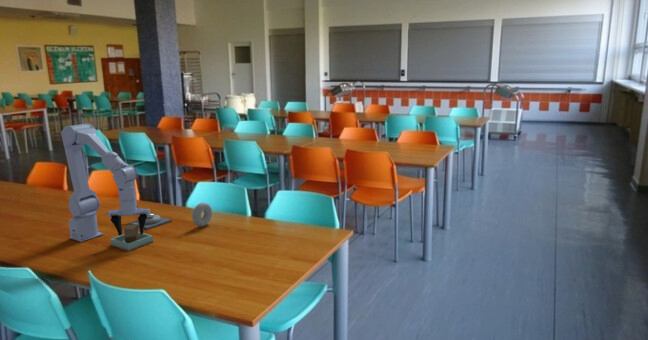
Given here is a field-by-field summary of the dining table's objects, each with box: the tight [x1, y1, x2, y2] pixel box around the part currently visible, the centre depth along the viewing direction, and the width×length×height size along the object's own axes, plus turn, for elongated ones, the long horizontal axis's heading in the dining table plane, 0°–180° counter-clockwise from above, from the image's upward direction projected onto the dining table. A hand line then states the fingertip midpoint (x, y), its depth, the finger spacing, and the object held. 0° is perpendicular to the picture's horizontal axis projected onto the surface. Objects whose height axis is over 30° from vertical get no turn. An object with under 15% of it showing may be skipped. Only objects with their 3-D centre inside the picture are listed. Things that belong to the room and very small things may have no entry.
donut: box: [192, 202, 213, 227], centre depth 198 cm, size 10×3×10 cm, turn 151°
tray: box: [109, 231, 154, 252], centre depth 181 cm, size 11×11×2 cm
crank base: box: [128, 214, 172, 230], centre depth 204 cm, size 12×12×2 cm
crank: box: [137, 205, 155, 218], centre depth 204 cm, size 11×3×4 cm, turn 67°
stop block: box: [123, 224, 140, 243], centre depth 180 cm, size 4×4×6 cm
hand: (131, 234), depth 180 cm, fingers open, 7 cm apart
